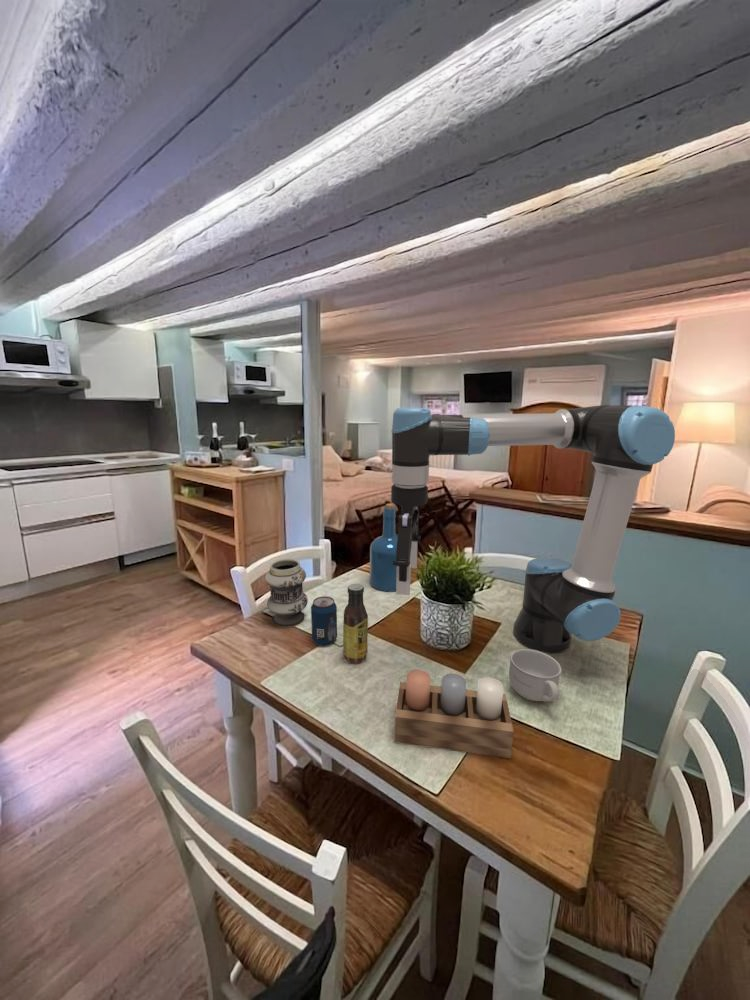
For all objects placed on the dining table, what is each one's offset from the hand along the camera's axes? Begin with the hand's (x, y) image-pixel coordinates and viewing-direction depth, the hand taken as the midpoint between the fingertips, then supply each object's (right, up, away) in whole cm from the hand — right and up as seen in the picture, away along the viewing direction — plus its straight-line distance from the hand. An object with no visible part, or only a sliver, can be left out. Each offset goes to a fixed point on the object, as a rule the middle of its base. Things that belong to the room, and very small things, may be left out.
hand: (407, 579), depth 89 cm
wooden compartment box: (+8, -29, -6) cm, 31 cm away
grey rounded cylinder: (+8, -24, -7) cm, 27 cm away
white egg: (+15, -24, -8) cm, 30 cm away
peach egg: (+2, -24, -6) cm, 25 cm away
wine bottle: (-2, -13, +59) cm, 60 cm away
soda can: (-21, -22, +24) cm, 39 cm away
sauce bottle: (-12, -24, +17) cm, 32 cm away
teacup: (+29, -28, +4) cm, 40 cm away
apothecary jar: (-33, -19, +35) cm, 52 cm away
